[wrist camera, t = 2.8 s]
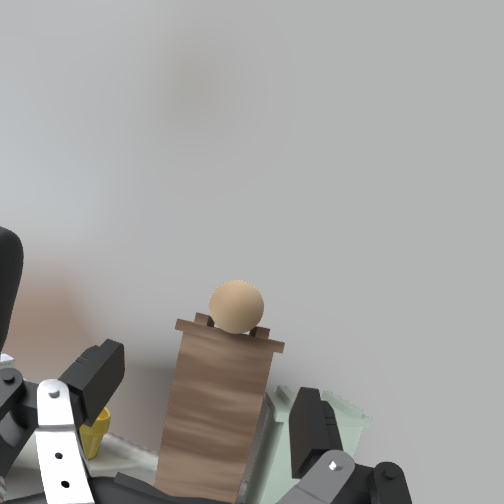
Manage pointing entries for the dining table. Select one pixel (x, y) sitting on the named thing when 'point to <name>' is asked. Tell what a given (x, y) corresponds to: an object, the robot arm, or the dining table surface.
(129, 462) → the dining table surface
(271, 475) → the pale green lidded tub
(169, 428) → the walnut tub
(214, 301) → the tan roll
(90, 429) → the plant pot
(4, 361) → the skincare box
